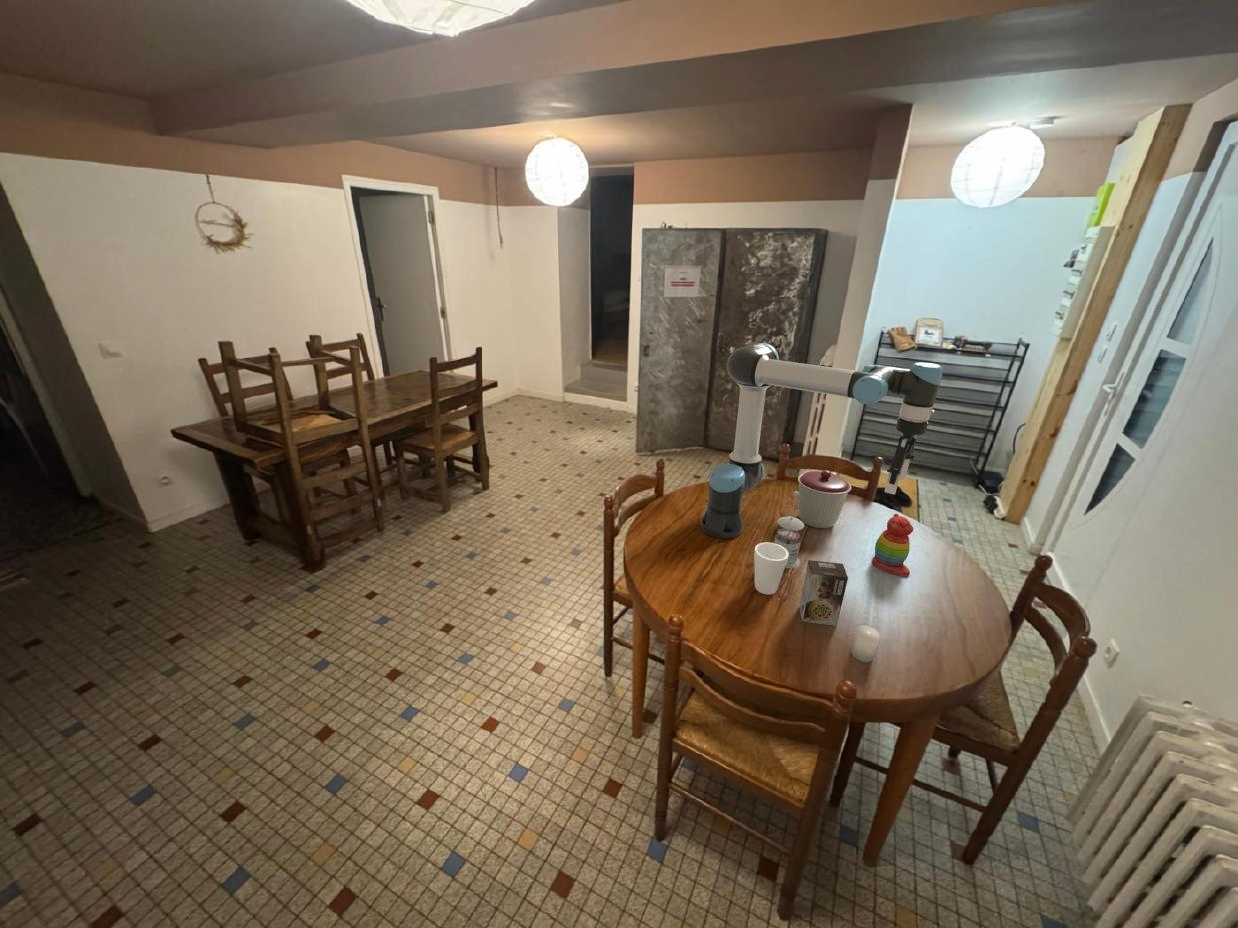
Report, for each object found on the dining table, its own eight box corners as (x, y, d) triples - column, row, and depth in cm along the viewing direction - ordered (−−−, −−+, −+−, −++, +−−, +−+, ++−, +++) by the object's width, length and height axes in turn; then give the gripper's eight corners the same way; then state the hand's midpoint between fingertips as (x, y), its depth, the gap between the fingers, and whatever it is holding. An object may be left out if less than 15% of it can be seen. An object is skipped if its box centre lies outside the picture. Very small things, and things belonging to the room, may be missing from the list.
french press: (765, 562, 152) (777, 494, 142) (772, 545, 161) (783, 479, 151) (797, 571, 148) (811, 501, 138) (802, 552, 157) (816, 486, 147)
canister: (809, 536, 166) (820, 483, 158) (781, 512, 183) (790, 463, 174) (852, 531, 170) (865, 478, 162) (822, 507, 186) (832, 459, 178)
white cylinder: (848, 655, 116) (854, 633, 113) (853, 643, 120) (859, 622, 117) (870, 665, 113) (877, 643, 111) (875, 652, 117) (881, 631, 114)
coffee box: (832, 610, 131) (843, 563, 125) (837, 626, 125) (849, 577, 119) (798, 606, 133) (808, 558, 126) (801, 621, 127) (812, 573, 120)
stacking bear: (911, 577, 145) (927, 528, 138) (876, 573, 147) (890, 524, 140) (899, 557, 155) (913, 511, 148) (866, 554, 157) (879, 507, 150)
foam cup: (745, 578, 144) (750, 542, 139) (774, 577, 145) (780, 541, 140) (756, 598, 135) (762, 561, 130) (786, 597, 136) (794, 560, 131)
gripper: (920, 432, 122) (899, 503, 131) (935, 411, 140) (916, 475, 148) (888, 426, 126) (870, 495, 135) (907, 406, 144) (890, 469, 153)
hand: (894, 485), depth 142 cm, fingers open, 13 cm apart
